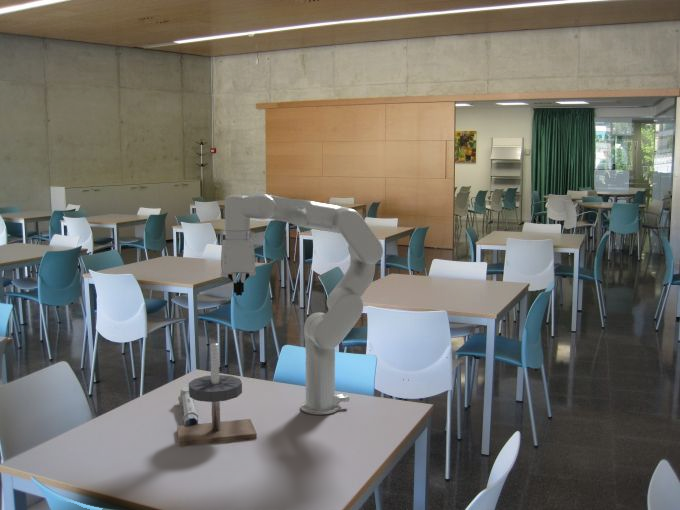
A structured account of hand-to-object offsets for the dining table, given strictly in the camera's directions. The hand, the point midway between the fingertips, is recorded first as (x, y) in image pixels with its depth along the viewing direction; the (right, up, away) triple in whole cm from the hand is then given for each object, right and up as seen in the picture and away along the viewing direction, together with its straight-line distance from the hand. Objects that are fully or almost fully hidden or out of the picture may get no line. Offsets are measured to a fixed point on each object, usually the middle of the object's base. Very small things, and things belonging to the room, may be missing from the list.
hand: (238, 294), depth 217 cm
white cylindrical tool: (-17, -39, +6) cm, 43 cm away
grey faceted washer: (-5, -28, -11) cm, 31 cm away
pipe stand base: (-5, -41, -9) cm, 42 cm away
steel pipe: (-5, -39, -10) cm, 41 cm away
